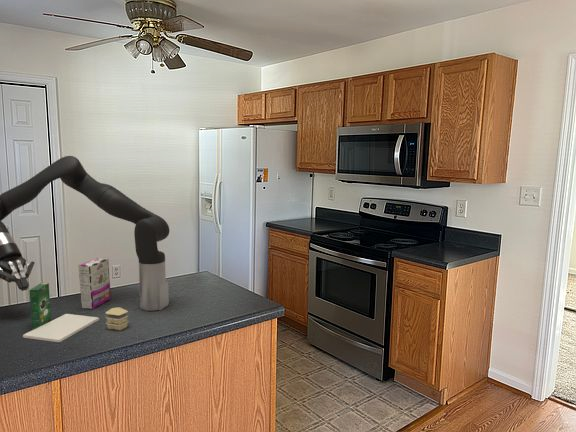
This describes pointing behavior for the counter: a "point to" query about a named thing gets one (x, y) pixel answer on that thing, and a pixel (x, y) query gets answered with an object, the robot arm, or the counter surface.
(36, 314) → the coffee box
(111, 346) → the counter surface
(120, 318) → the layered sandwich
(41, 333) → the cutting board
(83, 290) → the candy bar box
